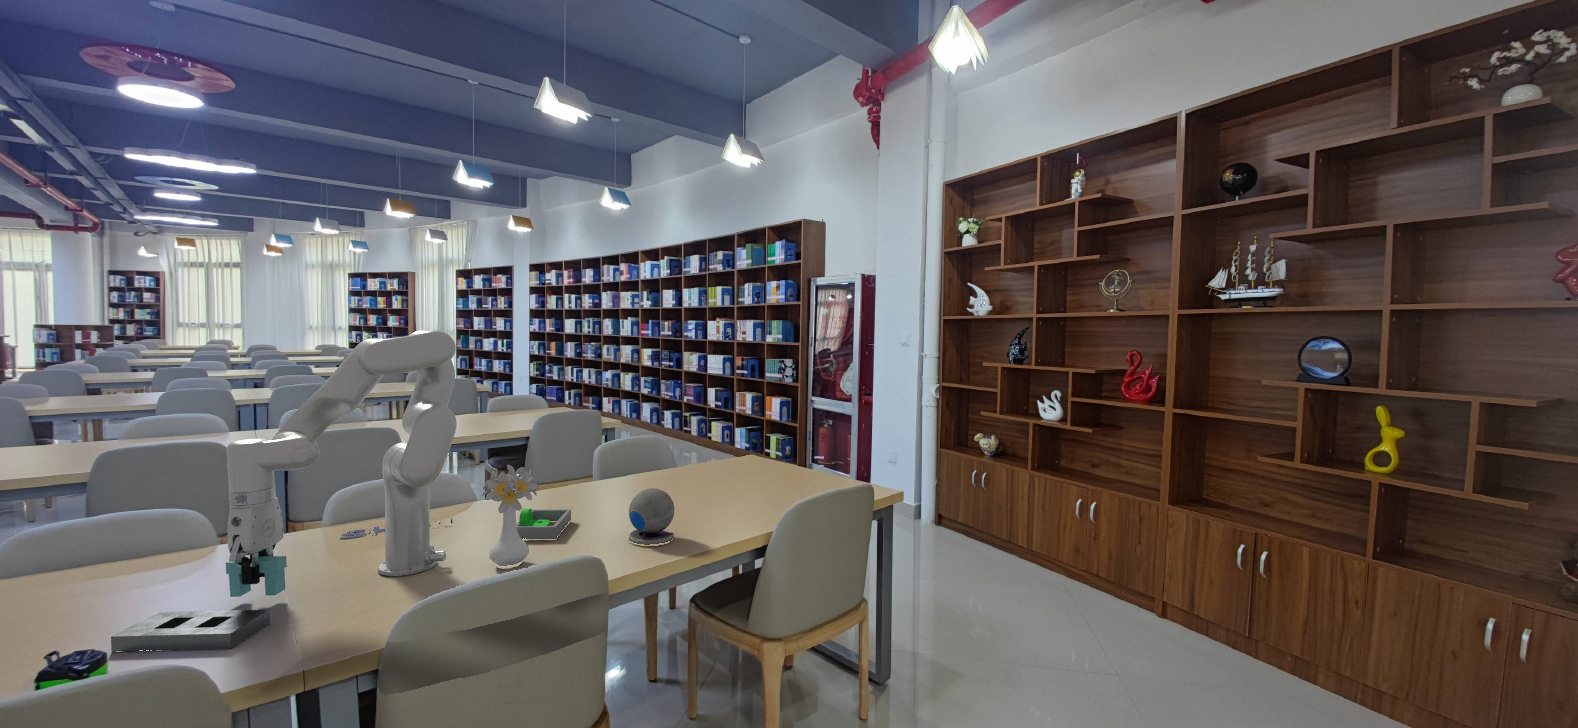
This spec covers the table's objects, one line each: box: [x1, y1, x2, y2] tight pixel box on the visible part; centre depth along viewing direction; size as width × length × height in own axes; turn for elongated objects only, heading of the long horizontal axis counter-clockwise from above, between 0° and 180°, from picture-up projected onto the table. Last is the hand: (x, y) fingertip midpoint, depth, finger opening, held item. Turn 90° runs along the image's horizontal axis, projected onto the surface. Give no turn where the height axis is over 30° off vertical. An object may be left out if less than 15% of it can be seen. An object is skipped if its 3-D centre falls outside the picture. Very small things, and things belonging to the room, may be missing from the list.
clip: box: [225, 555, 288, 598], centre depth 134 cm, size 10×3×8 cm, turn 96°
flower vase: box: [481, 464, 539, 566], centre depth 158 cm, size 13×18×25 cm
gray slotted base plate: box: [110, 609, 271, 653], centre depth 119 cm, size 20×10×3 cm, turn 96°
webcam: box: [628, 487, 675, 545], centre depth 181 cm, size 13×13×15 cm
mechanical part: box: [518, 508, 551, 526], centre depth 186 cm, size 12×6×8 cm, turn 5°
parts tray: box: [516, 508, 572, 539], centre depth 186 cm, size 12×18×4 cm, turn 6°
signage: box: [339, 521, 436, 540], centre depth 186 cm, size 28×1×10 cm
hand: (257, 579), depth 134 cm, fingers closed on clip, 3 cm apart
